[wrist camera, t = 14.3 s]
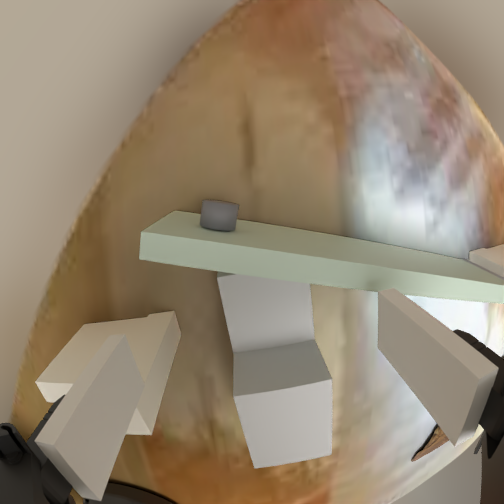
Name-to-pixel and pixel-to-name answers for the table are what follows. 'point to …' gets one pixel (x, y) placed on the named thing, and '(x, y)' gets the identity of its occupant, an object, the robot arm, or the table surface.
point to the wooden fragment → (433, 443)
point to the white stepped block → (277, 369)
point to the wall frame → (155, 351)
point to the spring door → (310, 256)
